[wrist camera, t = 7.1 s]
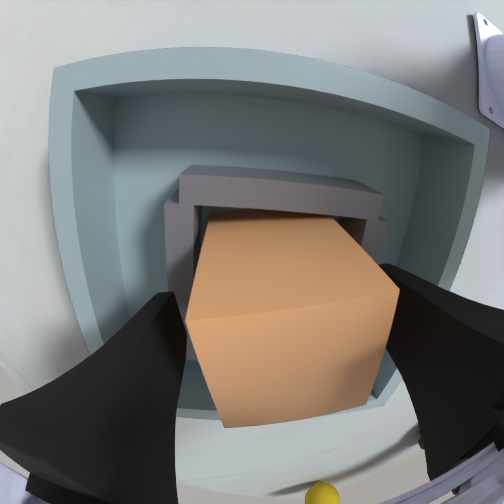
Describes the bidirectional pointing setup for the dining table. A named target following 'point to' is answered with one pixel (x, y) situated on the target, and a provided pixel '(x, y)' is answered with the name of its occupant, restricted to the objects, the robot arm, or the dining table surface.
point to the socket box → (246, 175)
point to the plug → (287, 316)
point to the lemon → (322, 494)
